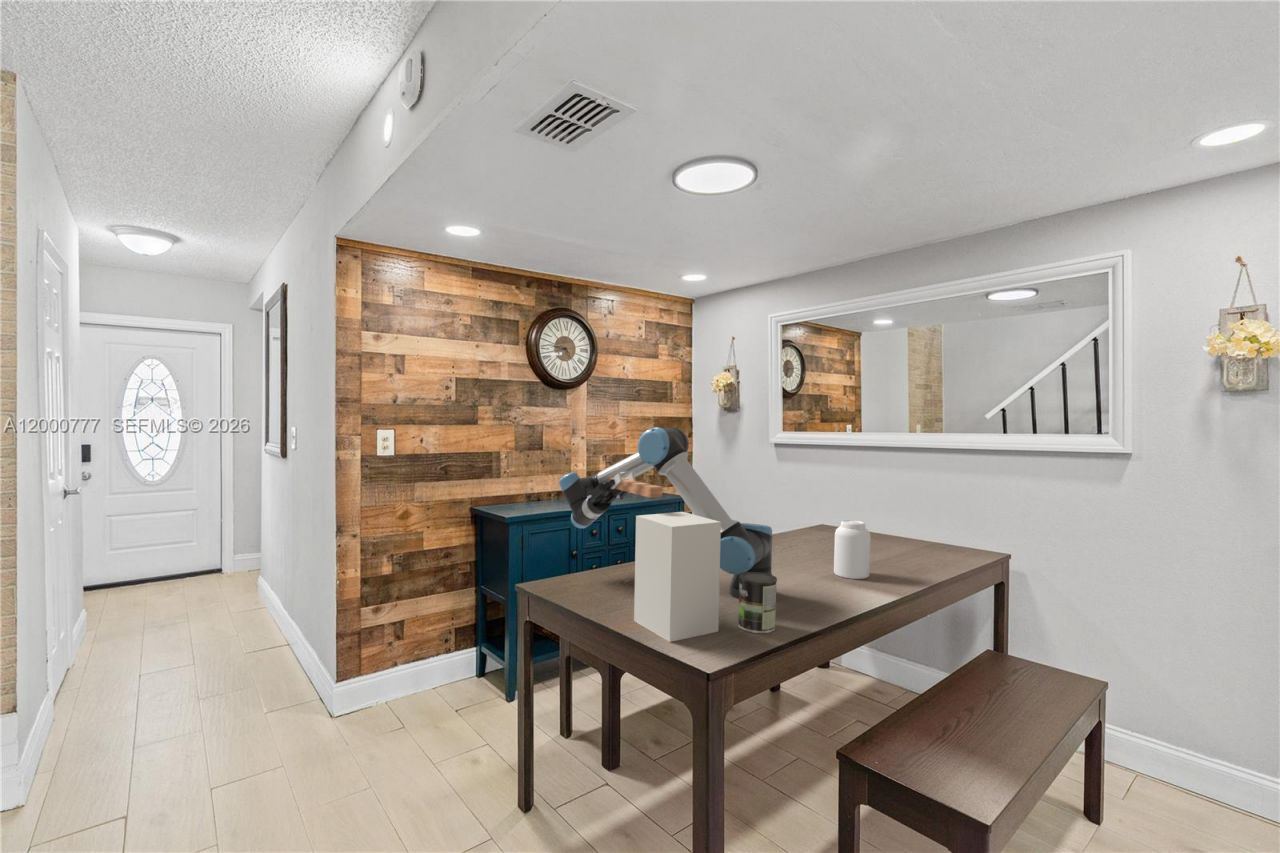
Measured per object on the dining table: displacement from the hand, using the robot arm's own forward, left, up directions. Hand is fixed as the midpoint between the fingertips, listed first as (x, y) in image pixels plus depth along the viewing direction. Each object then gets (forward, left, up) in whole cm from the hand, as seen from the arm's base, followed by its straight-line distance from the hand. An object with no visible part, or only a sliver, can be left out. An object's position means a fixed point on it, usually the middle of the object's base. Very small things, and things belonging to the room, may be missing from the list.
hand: (626, 476), depth 195 cm
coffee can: (-42, +14, -39) cm, 59 cm away
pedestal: (-20, +20, -39) cm, 48 cm away
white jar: (-73, -52, -39) cm, 98 cm away
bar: (-3, +3, -4) cm, 6 cm away
